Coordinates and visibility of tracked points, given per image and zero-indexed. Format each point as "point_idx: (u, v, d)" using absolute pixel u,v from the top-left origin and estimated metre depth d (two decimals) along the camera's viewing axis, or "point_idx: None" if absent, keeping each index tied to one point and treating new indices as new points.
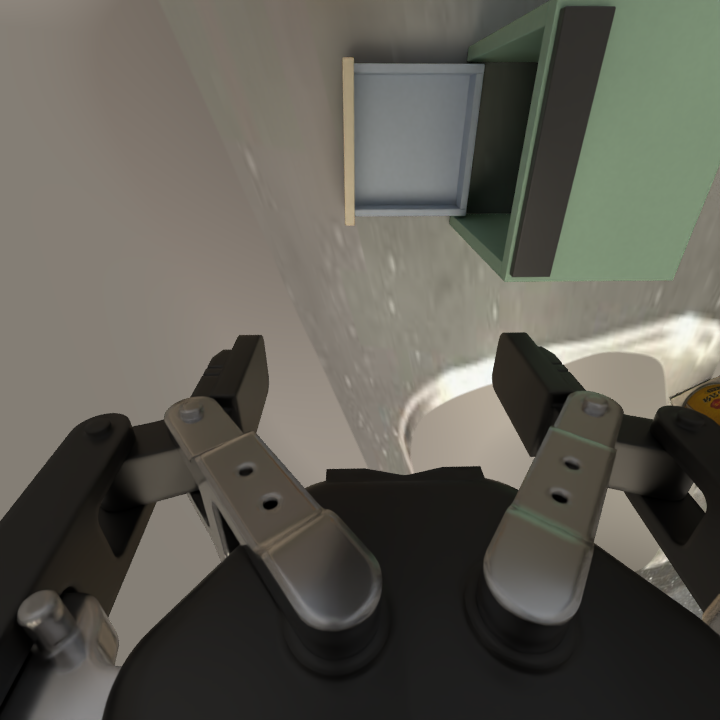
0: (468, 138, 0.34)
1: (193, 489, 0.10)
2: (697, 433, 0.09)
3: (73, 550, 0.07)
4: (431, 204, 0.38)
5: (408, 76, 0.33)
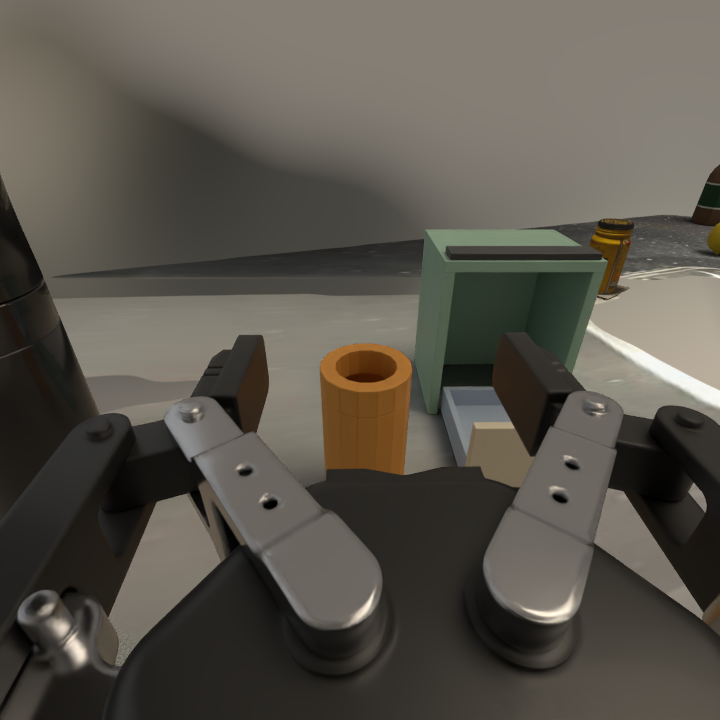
0: (493, 390, 0.42)
1: (193, 489, 0.10)
2: (697, 433, 0.09)
3: (73, 550, 0.07)
4: None
5: None
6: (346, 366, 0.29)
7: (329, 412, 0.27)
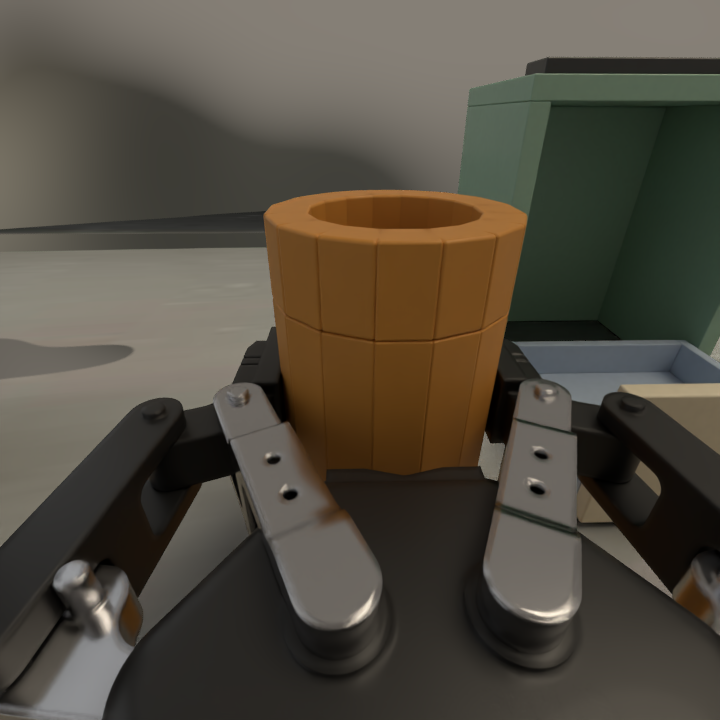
0: (591, 346, 0.25)
1: None
2: (638, 417, 0.09)
3: (113, 525, 0.07)
4: None
5: None
6: None
7: (292, 338, 0.09)
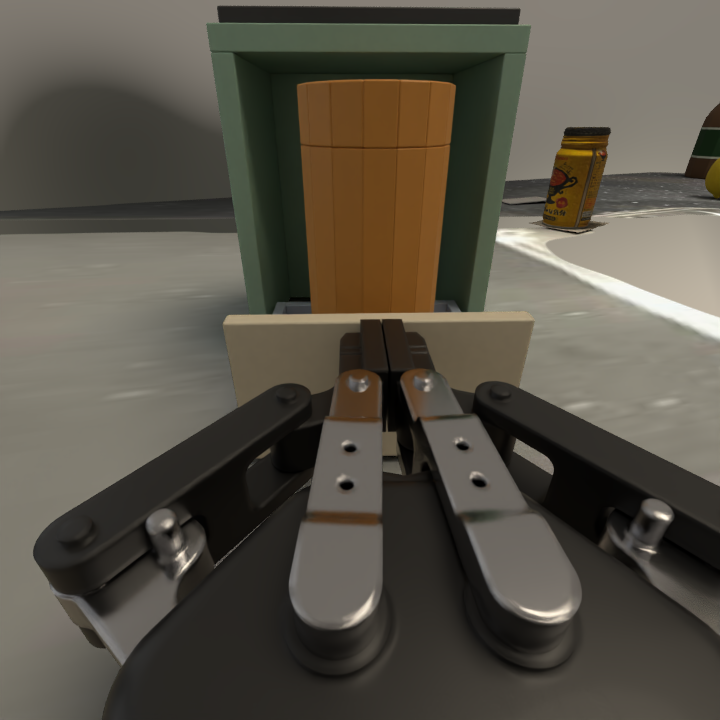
0: None
1: None
2: (502, 404, 0.10)
3: (213, 488, 0.08)
4: None
5: None
6: None
7: (314, 161, 0.16)
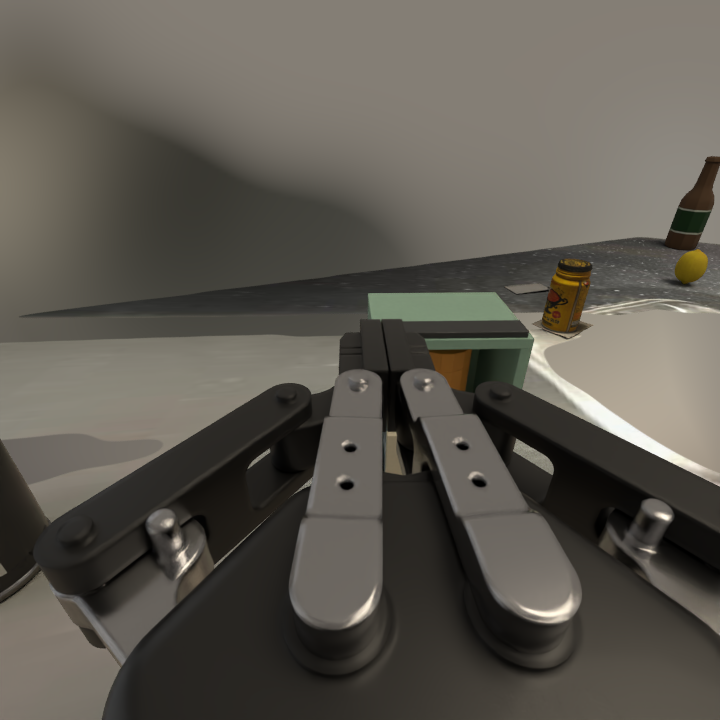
0: None
1: None
2: (502, 404, 0.10)
3: (213, 488, 0.08)
4: None
5: None
6: None
7: None
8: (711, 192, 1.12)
